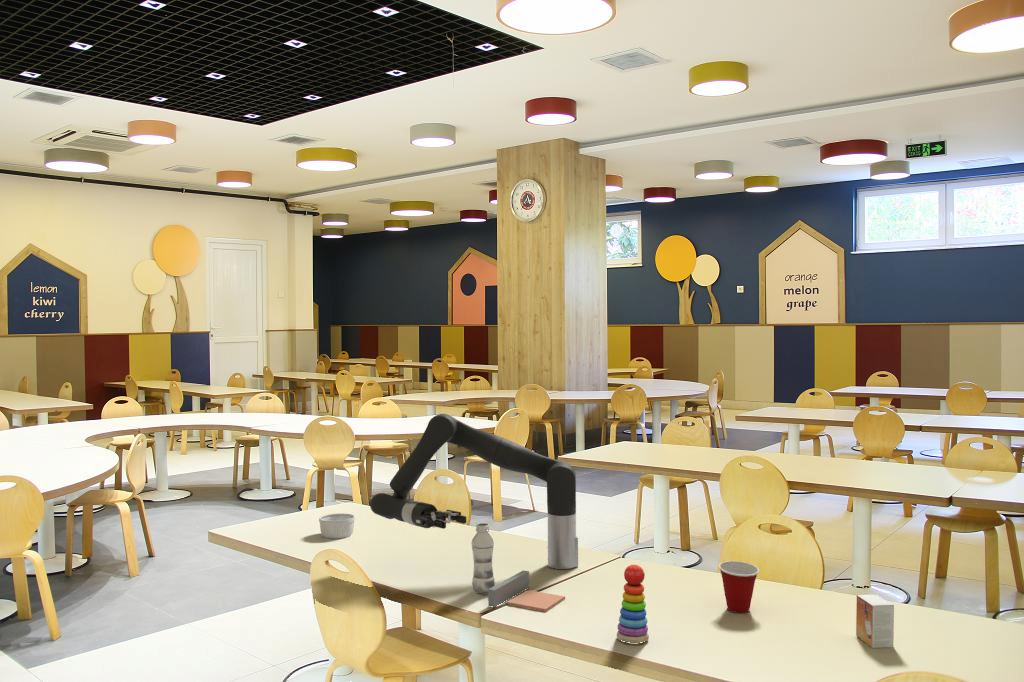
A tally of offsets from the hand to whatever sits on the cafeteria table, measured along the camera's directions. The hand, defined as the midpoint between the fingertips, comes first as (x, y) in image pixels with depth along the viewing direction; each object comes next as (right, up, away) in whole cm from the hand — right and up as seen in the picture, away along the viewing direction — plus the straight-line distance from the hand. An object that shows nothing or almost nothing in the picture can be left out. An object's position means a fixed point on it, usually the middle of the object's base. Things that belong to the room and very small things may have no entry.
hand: (455, 522), depth 254 cm
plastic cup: (+79, -19, -23) cm, 85 cm away
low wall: (+16, -19, -11) cm, 27 cm away
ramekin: (-48, -18, +61) cm, 80 cm away
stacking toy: (+47, -20, -44) cm, 67 cm away
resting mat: (+24, -19, -16) cm, 34 cm away
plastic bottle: (+9, -19, -7) cm, 22 cm away
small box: (+106, -19, -47) cm, 118 cm away
